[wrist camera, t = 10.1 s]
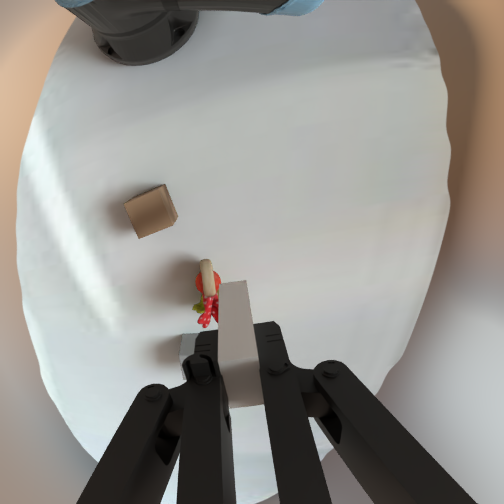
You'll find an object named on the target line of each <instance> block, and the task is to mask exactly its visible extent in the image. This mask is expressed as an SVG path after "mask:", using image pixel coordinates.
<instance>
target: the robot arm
mask: <svg viewBox="0 0 504 504" xmlns="http://www.w3.org/2000/svg"><path fill="white" fill-rule="evenodd" d="M55 1H56V2H57V3H58V4H59V5H60V6H62V7H64V8H66V9H67V10H69V11H70V12H72V13H73V14H74V15H76V16H77V17H78V18H80V19H81V20H83V21H84V22H85V23H87V24H88V25H89V26H91V27H92V32H93V37H94V40H95V42H96V44H97V46H98V47H99V49H100V50H101V51H102V52H103V53H104V54H105V55H107V56H108V57H110V58H111V59H113V60H115V61H117V62H119V63H122V64H126V65H146V64H151V63H154V62H157V61H160V60H162V59H164V58H166V57H168V56H170V55H172V54H173V53H175V52H176V51H177V50H179V49H180V48H181V47H182V46H183V45H184V44H185V43H186V42H187V41H188V39H189V38H190V37H191V35H192V34H193V32H194V30H195V28H196V25H197V22H198V16H199V11H205V10H207V11H241V12H256V13H259V14H261V15H266V16H267V15H274V14H279V15H290V16H300V15H305V14H308V13H310V12H312V11H314V10H315V9H316V8H317V7H319V6H320V5H321V4H322V2H323V1H324V0H55ZM182 368H183V371H184V374H185V376H186V379H187V382H185V383H184V384H182V385H180V386H178V387H175V388H171V389H168V388H167V387H166V386H164V385H162V384H151V385H147V386H145V387H144V388H142V389H141V390H140V392H139V393H138V394H137V396H136V398H135V400H134V401H133V403H132V405H131V406H130V408H129V410H128V412H127V413H126V415H125V417H124V419H123V420H122V422H121V424H120V426H119V427H118V429H117V431H116V433H115V434H114V436H113V438H112V440H111V442H110V443H109V445H108V447H107V449H106V450H105V452H104V454H103V456H102V458H101V459H100V461H99V463H98V465H97V467H96V468H95V471H94V472H93V474H92V476H91V477H90V479H89V481H88V483H87V485H86V487H85V489H84V490H83V492H82V494H81V496H80V498H79V500H78V501H77V503H76V504H160V502H161V500H162V497H163V495H164V492H165V490H166V487H167V484H168V482H169V479H170V477H171V474H172V471H173V469H174V466H175V464H176V461H177V458H178V456H179V453H180V458H179V472H178V487H177V504H236V492H235V477H234V462H233V446H232V429H231V417H230V413H229V407H230V408H239V407H247V406H255V405H262V404H264V406H265V412H266V419H267V425H268V431H269V438H270V444H271V450H272V457H273V463H274V469H275V475H276V481H277V488H278V494H279V499H280V504H332V502H331V498H330V495H329V491H328V487H327V484H326V480H325V477H324V473H323V469H322V466H321V462H320V459H319V455H318V452H317V448H316V444H315V441H314V437H313V434H312V430H311V427H310V423H309V420H308V417H314V419H315V421H316V422H317V424H318V425H319V427H320V428H321V430H322V431H323V432H324V434H325V435H326V437H327V438H328V440H329V441H330V443H331V444H332V445H333V447H334V448H335V450H336V451H337V453H338V454H339V455H340V457H341V458H342V459H343V461H344V462H345V464H346V465H347V467H348V468H349V469H350V471H351V472H352V474H353V475H354V476H355V478H356V479H357V481H358V482H359V483H360V485H361V486H362V487H363V489H364V490H365V492H366V493H367V494H368V496H369V497H370V498H371V500H372V501H373V502H374V504H477V503H476V502H475V501H474V500H473V499H472V498H471V497H470V496H469V495H468V494H467V493H466V492H465V491H464V489H463V488H462V487H461V486H460V485H459V484H458V483H457V482H456V481H455V480H454V479H453V478H452V477H451V476H450V475H449V474H448V473H447V472H446V471H445V470H444V469H443V468H442V467H441V466H440V465H439V463H438V462H437V461H436V460H435V459H434V458H433V457H432V456H431V455H430V454H429V453H428V452H427V451H426V450H425V449H424V448H423V447H422V446H421V445H420V444H419V442H418V441H417V440H416V439H415V438H414V437H413V436H412V435H411V434H410V433H409V432H408V431H407V430H406V429H405V428H404V427H403V426H402V425H401V424H400V422H399V421H398V420H397V419H396V418H395V417H394V416H393V415H392V414H391V413H390V412H389V411H388V410H387V409H386V408H385V407H384V406H383V404H382V403H381V402H380V401H379V400H378V399H377V398H376V397H375V396H374V395H373V394H372V393H371V392H370V391H369V390H368V388H367V387H366V386H365V385H364V384H363V383H362V382H361V381H360V380H359V379H358V378H357V377H356V376H355V375H354V374H353V372H352V371H351V370H350V369H349V368H348V367H347V366H346V365H345V364H343V363H342V362H339V361H336V360H327V361H323V362H321V363H319V364H317V366H316V367H315V368H314V369H302V368H298V367H296V366H294V365H293V364H292V363H291V362H290V360H289V357H288V354H287V350H286V347H285V343H284V340H283V336H282V333H281V329H280V326H279V325H278V324H276V323H275V322H274V321H271V322H264V323H258V324H253V320H252V314H251V308H250V301H249V295H248V288H247V282H246V280H244V281H237V282H230V283H223V284H219V311H218V330H211V331H203V332H200V333H199V334H198V336H197V337H196V339H195V348H194V354H192V355H190V356H188V357H187V358H186V359H185V360H184V361H183V363H182Z"/></svg>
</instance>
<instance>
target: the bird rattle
mask: <svg viewBox="0 0 504 504" xmlns="http://www.w3.org/2000/svg"><path fill="white" fill-rule="evenodd" d="M195 282H196V287H197V289H198V290H199V291H200V292H201V293H202V296H201V302H200V303H198V304H195V305H194V306H193V309H192V310H196V311H197V313H203V314H202V315H201V316H200V317H199V319H198V323H199V324H203V328H206V327H207V326H208V325H209V323H210V319H211V315H212V316H213V317H214V319H215V320H216V322H217V323H218V311H219V284H221V280H220V277H219V275H218V274H217V273H216V272H215V271H213V267H212V263H211V261H210V260H209V259H203V260H201V261H200V273H199V274H198V275H197V277H196V281H195Z"/></svg>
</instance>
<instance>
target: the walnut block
mask: <svg viewBox="0 0 504 504" xmlns="http://www.w3.org/2000/svg"><path fill="white" fill-rule="evenodd" d="M124 206H125V208H126V211H127V213H128V216H129V218H130V220H131V222H132V225H133V227H134V229H135V232H136V234H137V236H138V238H139V239H140V238H143V237H145V236H148V235H150V234H153V233H155V232H158V231H160V230H163V229H165V228H168V227H170V226H173V225H174V223H175V221H176V220H177V218H178V215H177V212H176V210H175V207H174V205H173V202H172V200H171V197H170V195H169V192H168V190H167V187H166V185H165V184H164V185H161V186H159V187H157V188H154V189H152V190H150V191H147V192H145V193H143V194H140V195H138V196H136V197H134V198H132V199H130V200H129V201H127V202H126V203H124Z"/></svg>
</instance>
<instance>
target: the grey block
mask: <svg viewBox="0 0 504 504" xmlns="http://www.w3.org/2000/svg"><path fill="white" fill-rule="evenodd" d="M198 334H199V333H193V334H183V335H182V341H181V346H180V352H179V359H180V365H181V370H182V375H183V380H187V379H186V376H185V374H184V371H183V368H182V363H183V361H184V360H185V359H186V358H187V357H188V356H190V355H192V354H194V348H195V339H196V337H197V336H198Z"/></svg>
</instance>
